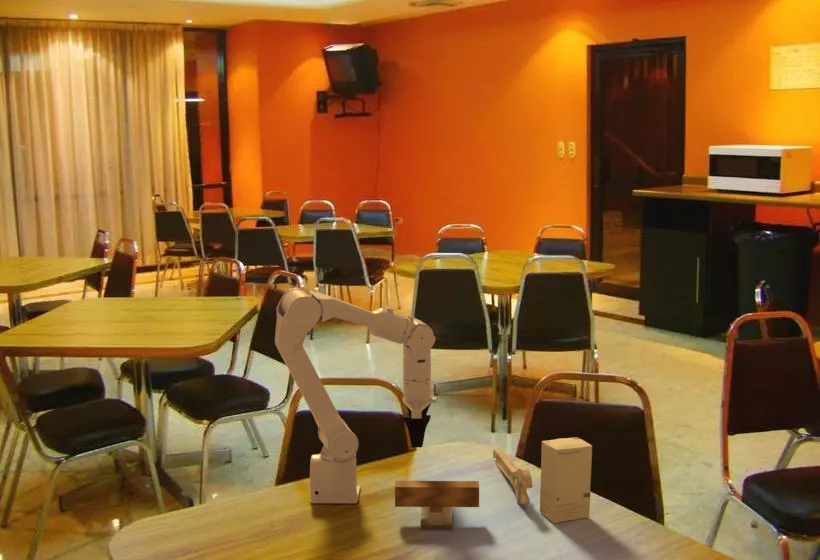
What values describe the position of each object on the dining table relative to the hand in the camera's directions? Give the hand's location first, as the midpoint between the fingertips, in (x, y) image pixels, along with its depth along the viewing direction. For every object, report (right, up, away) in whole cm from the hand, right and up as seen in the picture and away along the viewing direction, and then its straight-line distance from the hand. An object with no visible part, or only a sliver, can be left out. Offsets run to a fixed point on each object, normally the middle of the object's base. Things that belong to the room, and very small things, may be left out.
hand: (417, 440), depth 188 cm
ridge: (+3, -13, -15) cm, 20 cm away
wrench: (+20, -10, +2) cm, 22 cm away
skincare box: (+29, -12, -13) cm, 34 cm away
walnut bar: (+4, -9, -16) cm, 19 cm away
